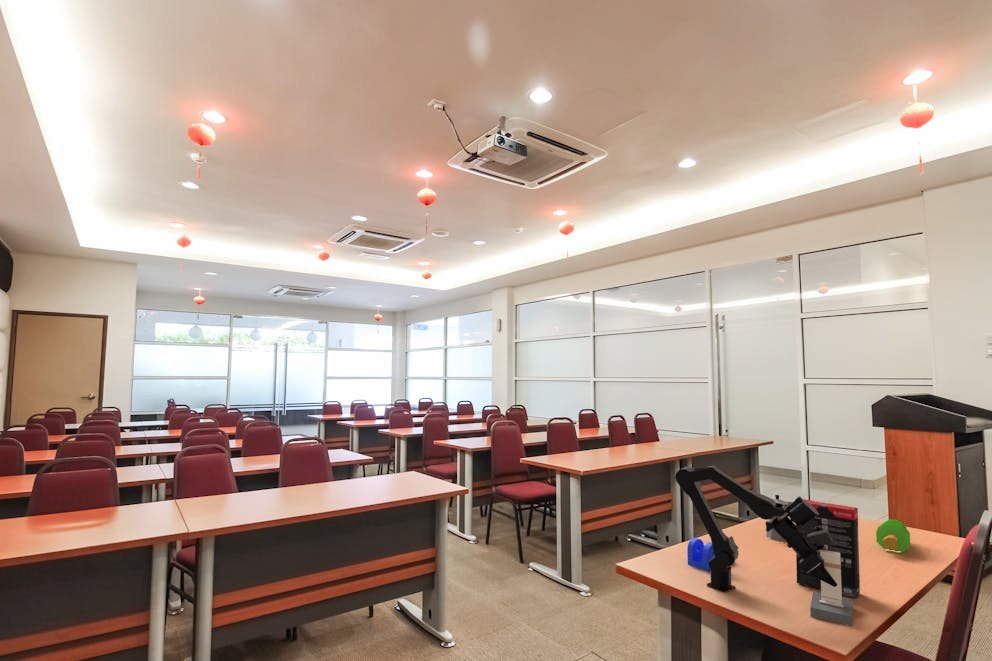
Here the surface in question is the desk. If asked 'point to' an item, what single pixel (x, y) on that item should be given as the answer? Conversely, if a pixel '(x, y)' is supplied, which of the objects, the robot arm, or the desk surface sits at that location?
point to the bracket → (699, 554)
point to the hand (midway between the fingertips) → (836, 580)
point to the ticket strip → (834, 569)
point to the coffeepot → (772, 532)
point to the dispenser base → (832, 610)
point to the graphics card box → (836, 544)
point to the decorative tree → (893, 536)
